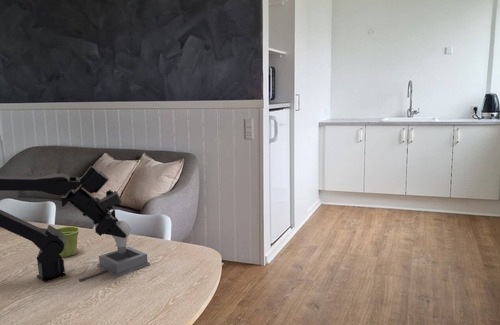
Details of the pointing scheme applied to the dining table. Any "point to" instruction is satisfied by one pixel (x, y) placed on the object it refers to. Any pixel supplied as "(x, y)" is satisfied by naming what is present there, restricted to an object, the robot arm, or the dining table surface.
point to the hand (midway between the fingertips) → (125, 233)
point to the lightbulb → (120, 241)
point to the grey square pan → (120, 263)
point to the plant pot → (69, 240)
